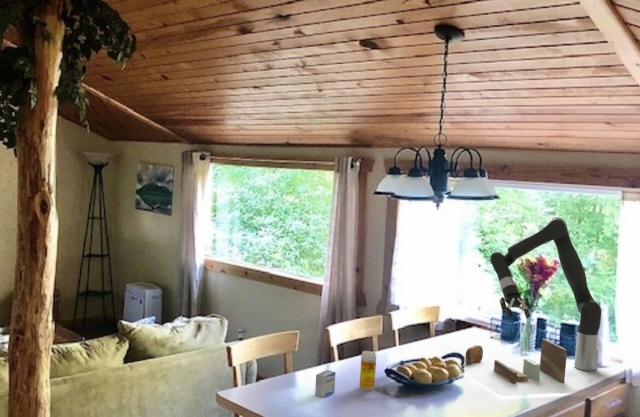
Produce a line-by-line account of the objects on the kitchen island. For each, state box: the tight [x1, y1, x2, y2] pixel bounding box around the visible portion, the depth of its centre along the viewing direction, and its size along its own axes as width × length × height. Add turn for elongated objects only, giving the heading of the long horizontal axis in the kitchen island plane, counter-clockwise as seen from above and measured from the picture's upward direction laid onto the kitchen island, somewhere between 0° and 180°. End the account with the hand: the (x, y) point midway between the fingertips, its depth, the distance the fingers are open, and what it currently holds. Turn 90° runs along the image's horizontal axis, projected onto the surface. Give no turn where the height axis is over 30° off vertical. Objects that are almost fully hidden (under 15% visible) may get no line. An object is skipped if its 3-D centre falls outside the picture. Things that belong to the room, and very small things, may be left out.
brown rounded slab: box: [464, 344, 484, 366], centre depth 319 cm, size 15×3×8 cm, turn 143°
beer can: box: [359, 350, 377, 392], centre depth 274 cm, size 6×6×15 cm
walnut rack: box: [493, 338, 568, 384], centre depth 300 cm, size 24×18×16 cm
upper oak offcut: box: [510, 367, 529, 382], centre depth 298 cm, size 5×12×2 cm, turn 21°
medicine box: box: [314, 369, 336, 399], centre depth 265 cm, size 8×4×9 cm, turn 148°
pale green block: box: [522, 358, 541, 381], centre depth 300 cm, size 3×9×8 cm, turn 12°
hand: (520, 317), depth 312 cm, fingers open, 8 cm apart
